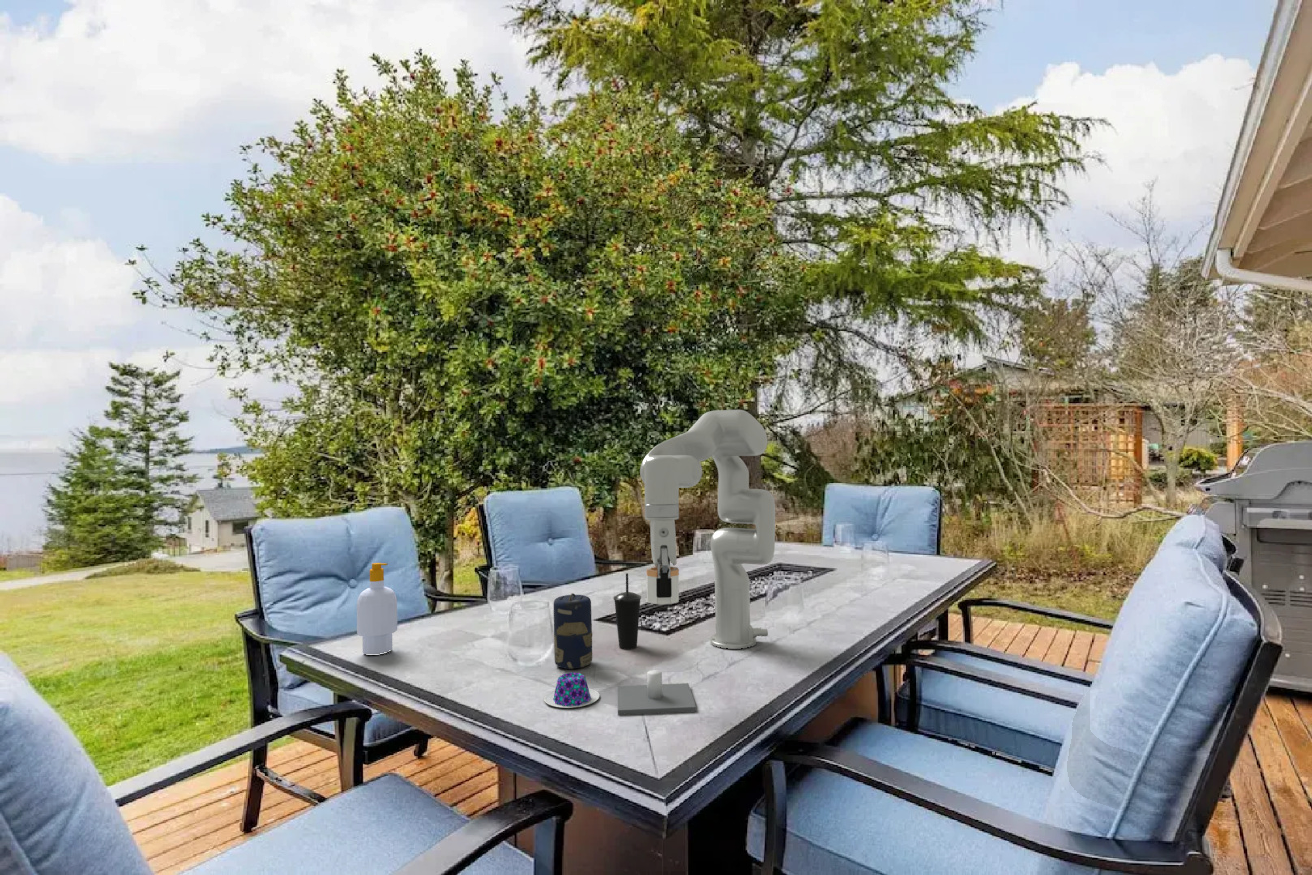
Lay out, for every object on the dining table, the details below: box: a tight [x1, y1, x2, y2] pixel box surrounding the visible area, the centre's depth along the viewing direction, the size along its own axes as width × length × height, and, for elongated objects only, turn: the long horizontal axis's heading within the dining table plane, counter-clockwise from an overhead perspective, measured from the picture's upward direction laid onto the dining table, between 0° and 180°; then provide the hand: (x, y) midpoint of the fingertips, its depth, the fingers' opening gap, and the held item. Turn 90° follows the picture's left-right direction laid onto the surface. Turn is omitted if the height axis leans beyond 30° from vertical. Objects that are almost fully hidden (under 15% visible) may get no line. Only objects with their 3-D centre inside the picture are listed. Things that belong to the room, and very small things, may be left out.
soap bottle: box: [356, 562, 398, 655], centre depth 185 cm, size 10×10×24 cm
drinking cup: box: [612, 573, 642, 650], centre depth 186 cm, size 8×8×20 cm
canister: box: [553, 593, 593, 670], centre depth 171 cm, size 10×10×18 cm
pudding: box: [543, 672, 600, 709], centre depth 148 cm, size 12×12×5 cm
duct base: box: [617, 669, 697, 716], centre depth 146 cm, size 16×14×6 cm
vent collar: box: [646, 566, 680, 605], centre depth 149 cm, size 7×7×7 cm
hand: (662, 592), depth 149 cm, fingers closed on vent collar, 6 cm apart
